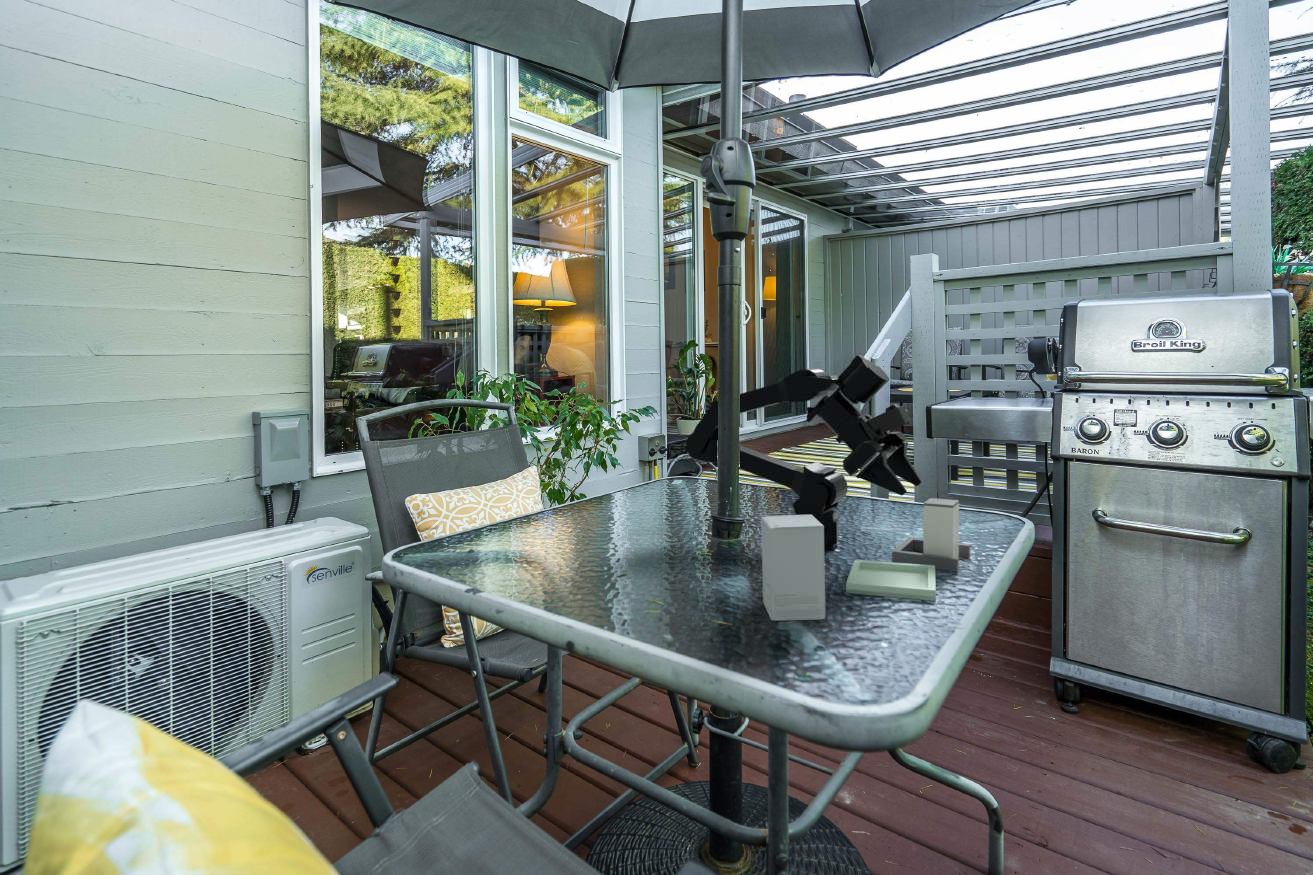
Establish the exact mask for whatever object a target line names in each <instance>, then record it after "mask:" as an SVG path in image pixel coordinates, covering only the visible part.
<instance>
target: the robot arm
mask: <svg viewBox="0 0 1313 875" xmlns="http://www.w3.org/2000/svg"><path fill="white" fill-rule="evenodd" d="M889 381H890V378H889V376H888V374H887V373H886V372H885V371H884V370H883V368H881V367H880V366H879V365H876V364H875V363H874V362H872V361H870V360H868V359H867V358H865V357H864V356H863V355H858V354H857V355H856V356H855V357H854V358H853V359H852V360H851V362H850V364H849V365H848V366H847V367H846V368H845V369H844V370H843V371H842V373H840V375H828V374H827V373H826V372H825V370H822V369H821V368H817V367H816V368H804V369H799V370H795V371H794V372H792V373H790V374H788V375H786V376H784V377H783V378H781V379H779V380H778V381H777V382H774V383H772V384H770V385H766V386H763V387H759V388H756V389H753V390H748V391H745V392H743V393H742V392H741V393H739V394H740V414H744V413H748V412H752V411H755V410H759V409H762V408H767V407H770V406H774V405H777V404H782V403H799V402H800V403H801V402H809V401H810V402H811V401H815V400H819V401H818V402H817V403H816V404H815V405H814V406H807V407H806V410H807V412H806V422H807V423H811V422H816V421H818V420H819V419H821V421H822V422H823V423H824V424H825V425H826V427H828V428H829V429H830V430H831V431H832V432H833V433H834V434H835V435H836V438H835V440H836V442H837V443H838V444H842V443H843V444H844V445H845V446H847V448H849V450H850V451H851V452H850V453H849V454H848V455H847V456H846V457H845V458H844V459H843V460H842V467H843V468H842V469H843V470H844V471H845V472H846V473H847V474H848V475H849V476H850V477H852V476H853V477H854V476H855V478H857V479H861V480H863V481H866V482H868V483H871V484H874V485H876V486H879V487H881V488H883V489H885V490H888V491H890V492H892V493H895V494H897V495H899V496H903V495H905V494H906V493H907V489H906V487H905V486H904V485H903V483H902V481H901V480H900V479H902V480H904V481H906V482H908V483H909V484H912V485H913V486H916V487H918V486H920V485H921V483H922V480H921V478H920V476H919V475H918V473H917V471H916V470H915V468H914V466H913V464H912V462H911V461H910V459H909V457H908V453H907V452H908V446H909V442H908V439H909V438H908V437H907V436H906V435H905V434H904V433H903V432H901V431H892V432H889V431H891V430H894V429H895V428H896V429H897V428H899V427H900V428H901V426H906V425H908V424H911V422H912V421H911V418H910V417H909V414H910V412H909V410H908V409H906V408H905V406H904V405H900V406H899V404H897V403H894V404H892V405H890V406H887V407H885V412H883V413H881V414H878V415H876V416H872V415H871V414H863V413H862V412H861V411H860V410H859V409H858V408H857V407H856V406H855V405H858V404H859V403H860V404H864V405H866V404H867V403H868V402H869V401H870V400H871V399H872V398H873V397H874V396H875V395H876V394H877V393H878V392H879V391H880V390H881V389H882V388H883V387H884V386H885V385H886V384H887V383H888V382H889ZM831 391H833V393H832V394H831V395H830V396H828V392H831ZM717 399H718V398H717ZM717 399H715V400H713V401H712V403H711V404H710V405H709V408H708V410H707V411H706V413H705V414H704V415H703V416H702V418H701V419H700V420H699V421H698V423H697V424H696V425H695V428H694V430H693V432H691V433H690V434H689V436H687V439H686V443H685V444H686V445H685V447H686V448H685V449H686V451H687V453H688V456H689V457H690V458H691V459H693V460H695V461H699V462H705V463H713V464H714V463H715V464H718V463H717V440H718V401H717ZM854 404H855V405H854ZM740 414H739V415H740ZM739 445H740V444H739ZM738 469H740V470H741V471H745V472H747V473H750V474H753V475H754V476H757V477H759V478H762V479H765V480H768V481H771V482H772V483H776V484H778V485H781V486H783V487H786V488H788V489H790V490H791V491H792V492H793V493H795V494H796V496H797V497H798V498H797V499H796V501H794V502H793V503H792V508H793V509H794V510H793V511H794V513H795V515H813V516H814V517H815V518H816V519H817V520H818V521H819V522H820V523H821V524H822V525H823V526H824V550H834V548H835V547H836V545H837V544H838V542H839V537H840V536H839V535H840V532H839V526H840V524H839V519H838V518H836V509H837V508H838V506H839V503H840V501H842V500H844V498H845V497H846V495H847V493H848V490H849V488H848V482H847V480H846V478H845V476H844V475H843V474H841V473H840V472H838V471H837V467H828V466H826V465H824V464H822V463H821V462H818V461H814V462H812V463H810V464H806V465H804V466H803V467H801V466H798V465H795V464H793V463H790V462H788V461H784V460H782V459H779V458H776V457H774V456H770V455H768V454H766V453H763V452H760V451H757V450H755V449H751V448H748V447H746V446H744V445H743V446H742V445H740V467H739V468H738ZM859 470H860V471H859ZM899 478H900V479H899Z"/></svg>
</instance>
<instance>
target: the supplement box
mask: <svg viewBox="0 0 1313 875" xmlns="http://www.w3.org/2000/svg"><path fill="white" fill-rule="evenodd" d="M760 522H761V526H760V528H761V533H760V534H761V561H762V562H761V563H762V564H761V565H762V566H761V567H762V568H761V569H762V602H763V606H764V607H765V610H766V611H767V614H768V615H769V616H768V617H769V619H770V620H771V621H776V622H777V621H780V622H781V621H811V620H814V621H816V620H817V621H818V620H825V618H826V579H825V578H826V575H825V574H826V572H825V571H826V570H825V569H826V567H825V565H826V564H825V549H824V526H823V525H822V524H821V523H820V522H819V521H818V520H817V519H816V518H815V517H814V516H813V515H796V514H794V515H793V514H789V515H787V514H786V515H769V516H768V515H767V516H761V520H760Z"/></svg>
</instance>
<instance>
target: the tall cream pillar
mask: <svg viewBox="0 0 1313 875" xmlns="http://www.w3.org/2000/svg"><path fill="white" fill-rule="evenodd" d="M922 524H923V532H922V533H923V535H922V536H923V538H922V539H923V552H922V553H923V554H931V555H939V556H947V557H955V558H959V559H960V556H959V543H960V537H959V536H960V530H959V529H960V500H958V499H945V498H936V497H935V498H932V497H930V498H929V499H927V500H926V501H924V502H923V523H922Z"/></svg>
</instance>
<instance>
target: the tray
mask: <svg viewBox="0 0 1313 875" xmlns="http://www.w3.org/2000/svg"><path fill="white" fill-rule="evenodd" d="M936 587H937V586H936V569H935V565H922V564H908V563H893V562H892V561H891V562H890V561H877V560H875V561H874V560H863V559H862V560H861V559H854V561H853V563H852V566H851V569H850V571H849V573H848V577H847V580H846V583H845V590H846V591H845V593H846V594H853V595H863V596H864V595H866V596H867V595H868V596H878V597H887V598H898V599H910V600H919V601H920V600H921V601H933V602H936V601H937V599H936V598H937V596H936V595H937V593H936V592H937V590H936Z"/></svg>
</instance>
